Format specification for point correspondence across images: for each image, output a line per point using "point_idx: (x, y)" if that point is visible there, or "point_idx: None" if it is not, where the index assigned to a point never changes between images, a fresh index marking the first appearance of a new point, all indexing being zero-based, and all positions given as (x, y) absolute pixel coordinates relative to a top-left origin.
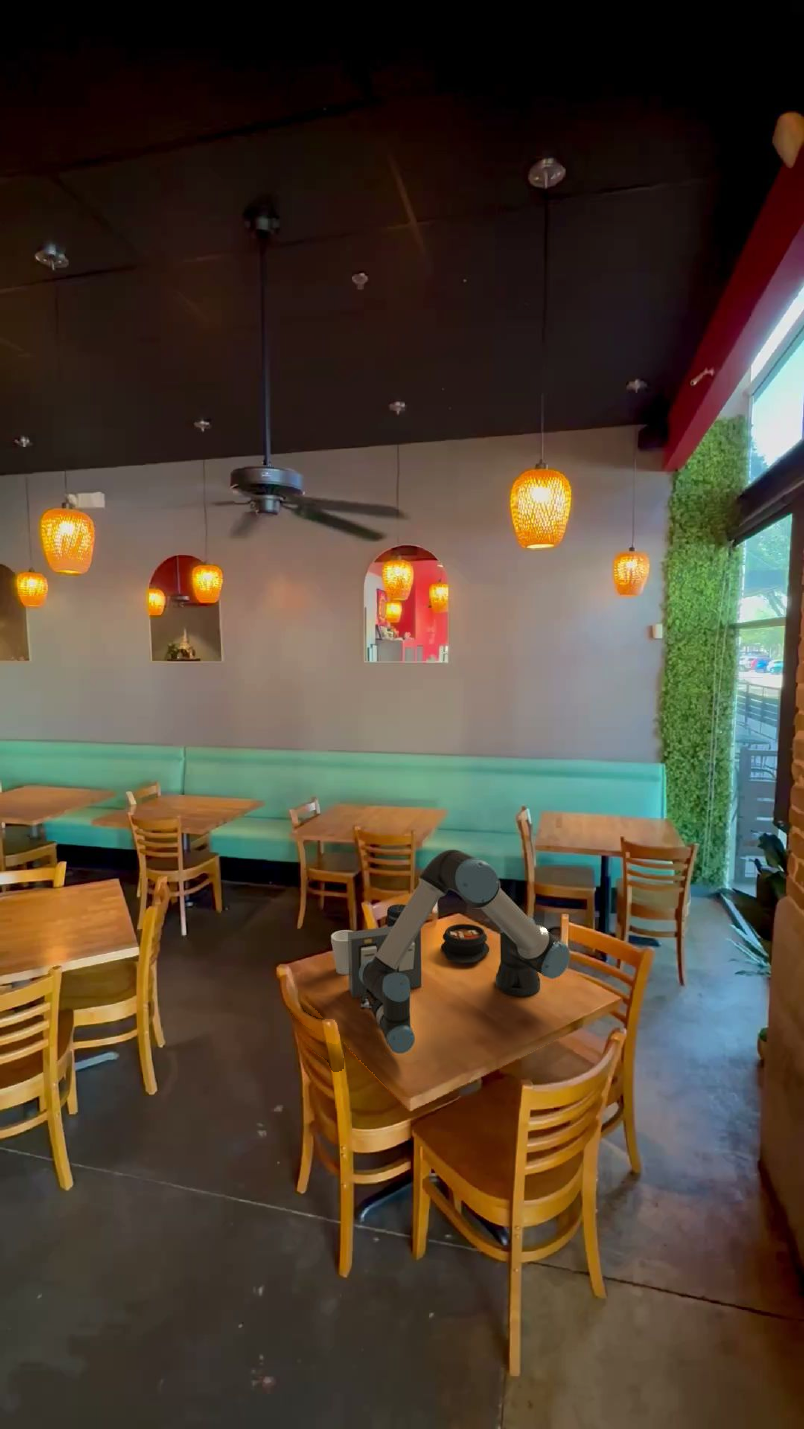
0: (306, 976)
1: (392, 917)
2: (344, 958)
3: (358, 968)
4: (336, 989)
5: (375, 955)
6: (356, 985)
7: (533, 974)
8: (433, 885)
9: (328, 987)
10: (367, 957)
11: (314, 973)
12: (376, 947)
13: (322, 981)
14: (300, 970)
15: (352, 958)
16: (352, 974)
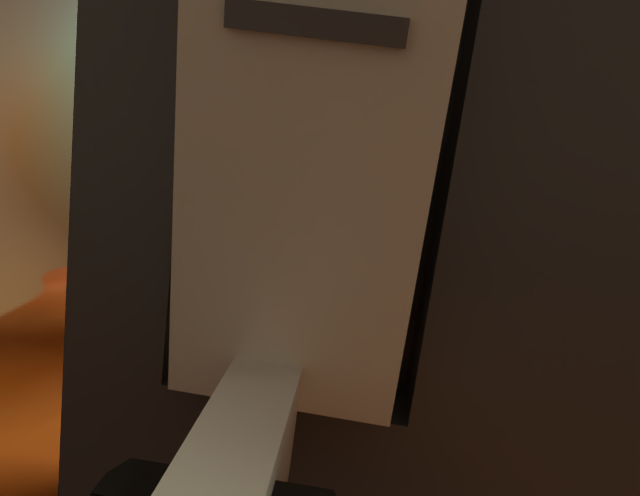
0: (30, 308)
1: None
2: None
3: (158, 253)
4: (54, 434)
5: (430, 69)
6: (111, 468)
7: None
8: None
9: (29, 399)
10: (277, 68)
11: None
12: (480, 1)
13: (60, 354)
14: (54, 283)
15: (85, 79)
16: (71, 311)
